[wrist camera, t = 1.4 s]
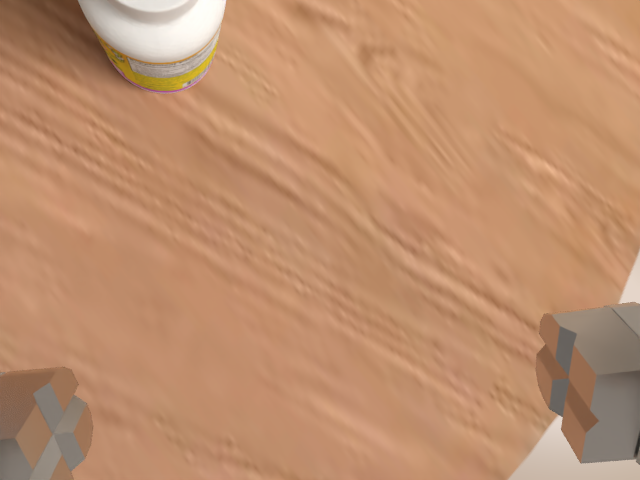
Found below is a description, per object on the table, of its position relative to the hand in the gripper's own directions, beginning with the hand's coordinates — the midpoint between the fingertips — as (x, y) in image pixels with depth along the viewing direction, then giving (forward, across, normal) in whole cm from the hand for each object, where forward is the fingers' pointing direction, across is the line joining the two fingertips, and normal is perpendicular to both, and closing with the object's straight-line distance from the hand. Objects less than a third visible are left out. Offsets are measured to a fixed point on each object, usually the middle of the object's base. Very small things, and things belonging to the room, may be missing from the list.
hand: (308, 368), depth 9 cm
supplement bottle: (+28, +8, -3) cm, 29 cm away
